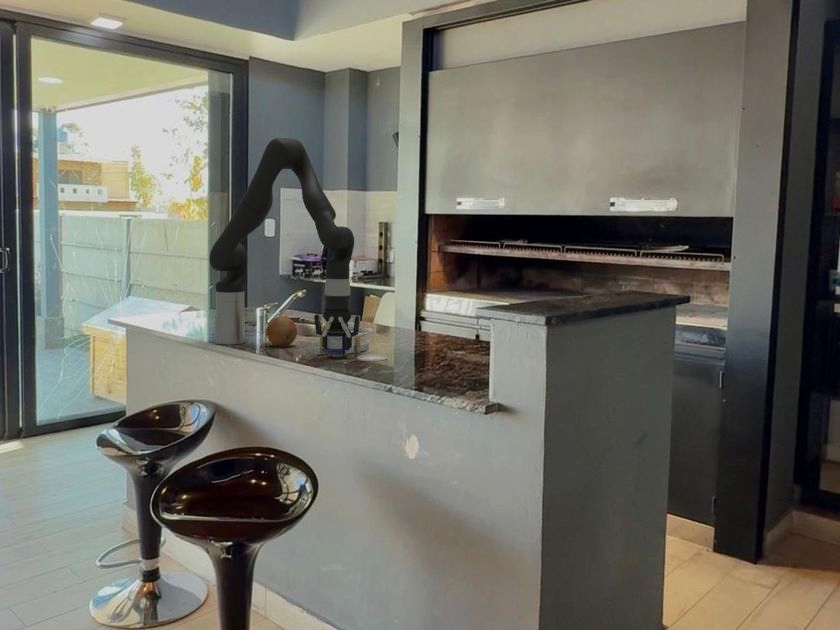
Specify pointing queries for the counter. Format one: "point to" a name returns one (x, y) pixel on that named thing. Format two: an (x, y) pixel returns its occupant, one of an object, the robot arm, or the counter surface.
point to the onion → (281, 331)
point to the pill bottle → (336, 341)
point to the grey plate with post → (320, 349)
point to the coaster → (371, 357)
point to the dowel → (356, 345)
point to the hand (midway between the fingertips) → (337, 349)
